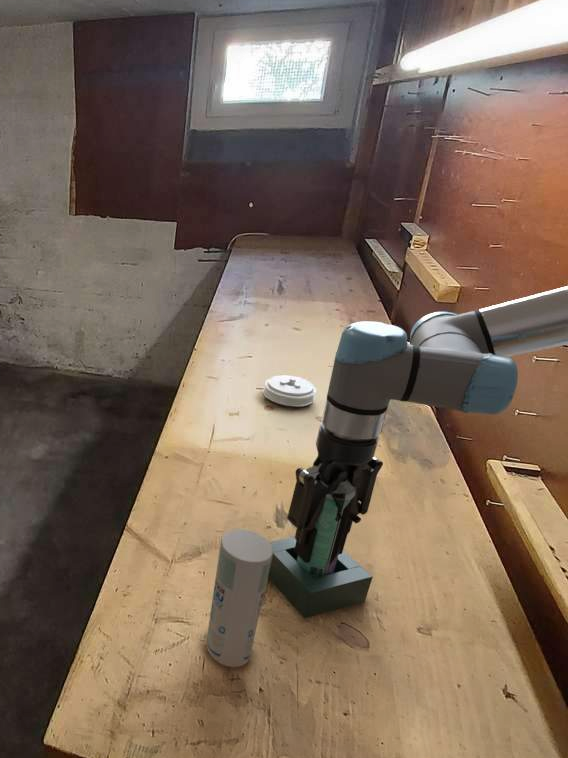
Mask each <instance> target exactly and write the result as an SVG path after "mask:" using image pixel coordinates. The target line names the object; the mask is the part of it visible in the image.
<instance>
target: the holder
mask: <svg viewBox="0 0 568 758" xmlns="http://www.w3.org/2000/svg"><path fill="white" fill-rule="evenodd" d="M269 542H270V544H271V546H272V548H273V556H272V561H271V565H270V570H269V574H268V580H269V581H270V582H271V583H272V585H274V586H275V588H276V589H277V590H278V592H280V593H281V595H282V596H283V597H285V599H286V600H287V601H288V603H290V604H291V606H292V607H293V608H294V609H295V610H296V611H297V612H298V614H299V615H300V616H301V617H302V618H303V620H304V619H308V618H313V617H315V616H319V615H322V614H327V613H330V612H335V611H337V610H341V609H345V608H348V607H351V606H355V605H358V604H363V603H365V602H366V600H367V596H368V593H369V590H370V587H371V584H372V581H373V578H374V576H373V575H371V573H370V572H368V570H367V569H365V567H363V566H362V565H361V564H360V563H359V562H357V561H356V560H355V559H354V558H353V557H352V556H351V555H350V554H348V553H347V552H346V551H345V550H344V549H343V552H342V554H339V555H338V558H337V562H336V565H335V569H334V572H333V574H329V575H325V576H321V577H317V578H312V577H311V576H310V575H309V574H308V573H307V572H306V571H305V570H304V569H303V568H302V567H301V566H300V565H299V564H298V563H297V562H296V561H297V557H298V555H297V554H296V553H295V552H294V549H295V545H296V539H295V535H293V536H290V537H285V538H281V539H277V540H272V541H269Z"/></svg>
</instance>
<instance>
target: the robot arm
mask: <svg viewBox="0 0 568 758" xmlns="http://www.w3.org/2000/svg"><path fill="white" fill-rule="evenodd" d="M409 336H410V337H409V338H410V339H409V344H408V335H407V332H406V331H405V330H404V329H403V328H402V327H399V326H397V325H394V324H388V323H385V322H381V321H371V320H369V321H368V320H364V321H363V320H362V321H356V322H353V323H350V324H349V325H347V326H346V327H345V328H344V329H343V331H342V333H341V336H340V339H339V343H338V346H337V349H336V352H335V356H334V361H333V365H332V370H331V375H330V380H329V384H328V389H327V393H326V399H325V403H324V408H323V412H322V416H321V420H320V421H321V423H320V425H319V427H318V432H317V437H316V440H315V446H316V450H317V457H316V458H315V459H314V461H313V463H312V466H310V467H308V468H306V469H304V468H303V467H298V468H296V469H295V480H296V483H295V486H294V490H293V493H292V497H291V502H290V505H289V508H288V513H287V517H286V520H287V521H289V523H291V524H292V525H293V526H294V527H295V528H296V530H295V535H294V536H295V539H296V545H295V549H294V552H295V553H296V554H297V555H298V556H299V557H300V558H301V559H302V560H303V561H304V562H305V563H307V562H310V558H311V554H312V550H313V546H314V542H315V538H316V534H317V529H316V528H315V527H314V526H315V524H316V522H317V520H318V518H319V516H320V514H321V512H322V510H323V507H324V503H325V499H326V495H327V494H332V492H334V491H335V490H337V488H338V486H339V484H340V482H341V481H343V480H344V481H346V480H347V479H348V482H350V483H351V485H352V486H353V487H356V489H355V496H354V500H353V503H352V507H351V511H350V514H349V518H348V522H347V525H346V529H345V532H344V536H343V540H342V543H341V547H340V551H339V554H342V552H343V550H344V548H345V544H346V541H347V538H348V534H350V532H351V529H352V526H353V523H354V524H358V523H360V522H361V521H362V518H361V517H360V516H358V515H366V514H367V513H368V511H369V507H370V504H371V500H372V496H373V492H374V488H375V484H376V480H377V477H378V474H379V472H380V470H381V469H382V467H383V465H384V462H383V461H382V460H381V459H379V458H377V457H376V456H375V454H376V450H377V446H378V444H379V443H378V442H379V439H380V438H379V436H380V435H381V434H382V430H383V427H384V423H385V419H386V415H387V412H388V407H389V403H390V401H391V400H393V401H400V402H403V403H406V402H407V403H412V404H417V405H424V406H430V407H435V408H440V409H446V410H452V411H457V412H461V413H464V414H469V413H471V414H480V415H488V416H489V415H490V416H494V415H495V416H497V415H499V414H502V413H503V412H504V411H505V410H507V409H508V407H509V406H510V404H511V403H512V401H513V398H514V395H515V393H516V389H517V384H518V379H519V369H518V366H517V363H516V362H515V361H514V359H512V357H515V356H520V355H526V354H529V353H530V354H531V353H534V352H538V351H545V350H548V349H552V348H558V347H562V346H567V345H568V285H567V286H562V287H560V288H556V289H552V290H548V291H544V292H541V293H536V294H534V295H529V296H526V297H521V298H518V299H515V300H510V301H507V302H502V303H498V304H495V305H492V306H487V307H484V308H480V309H476V310H471V311H467V312H464V313H459V314H457V313H454V312H450V311H434V312H431V313H428V314H426V315H424V316H422V317H421V318H419V319H418V320H416V323H414V325H413V326H412V328H411V331H410V335H409ZM510 357H511V358H510ZM344 478H345V479H344ZM320 480H321V481H323V482H324V483H325V484H326V485H328V488H327V487H326V486H324V485H323V484H322V483H321V482H320ZM344 481H343V482H344ZM339 554H338V555H339Z"/></svg>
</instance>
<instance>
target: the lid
mask: <svg viewBox="0 0 568 758" xmlns="http://www.w3.org/2000/svg"><path fill="white" fill-rule="evenodd" d="M264 387H265V388H264V389H263V395H264V396H265V398H267V399H268V400H270V401H272V402H274V403H276V404H278V405H279V404H280V405H282V406H287V407H288V406H289V407H305V406H309V405H311V404H312V403H314V402H315V399H316V397H315V395H316V393H317V387H316V386H315V385H314V384H313V383H311V382H310V381H309V380H307V379H304V378H302V377H299V376H295V375H286V374H285V375H284V374H282V375H275V376H272V377H270V378H268V379H266V380H265V382H264Z"/></svg>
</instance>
